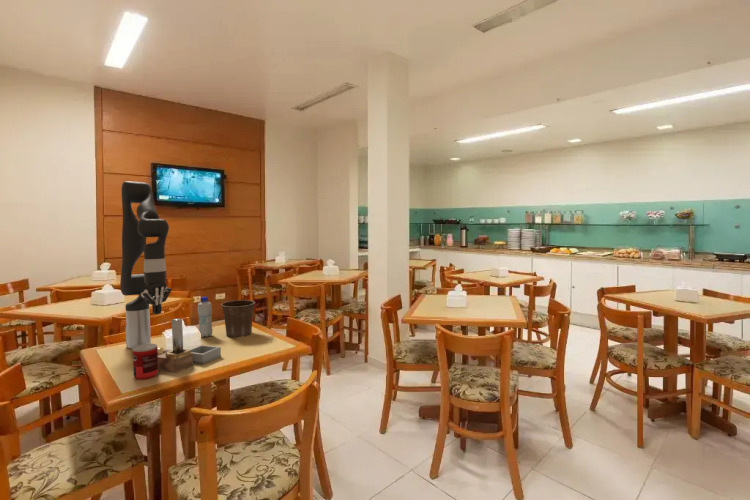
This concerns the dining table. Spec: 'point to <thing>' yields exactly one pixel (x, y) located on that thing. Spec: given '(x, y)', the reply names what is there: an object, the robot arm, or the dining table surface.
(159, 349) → the release plunger
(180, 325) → the rod
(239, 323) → the plant pot
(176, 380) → the dining table surface
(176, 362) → the socket block
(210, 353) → the tray
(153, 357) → the canned food
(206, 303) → the bottle
